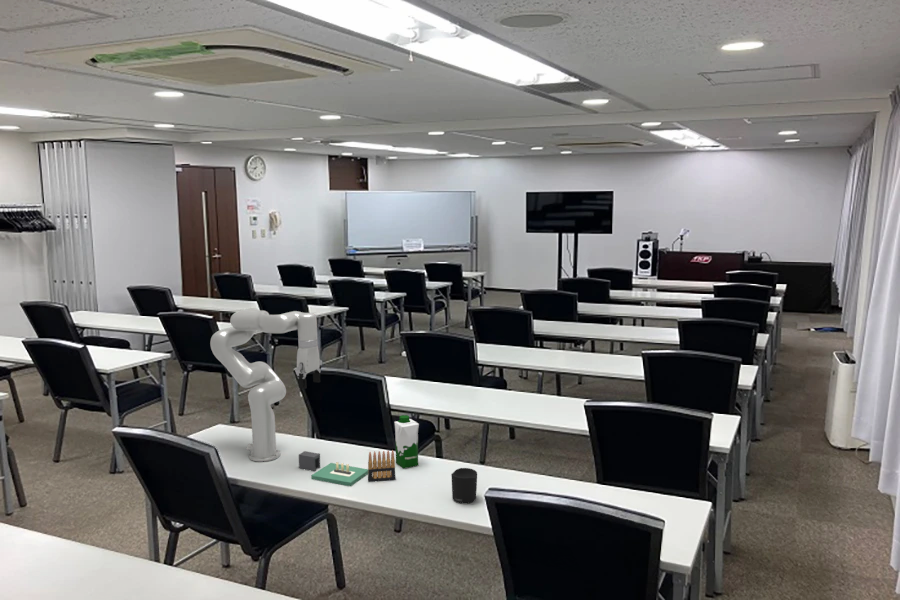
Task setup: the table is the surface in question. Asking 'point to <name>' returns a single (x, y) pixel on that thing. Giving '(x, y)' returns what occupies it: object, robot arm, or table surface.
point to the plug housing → (309, 460)
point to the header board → (340, 474)
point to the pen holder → (464, 485)
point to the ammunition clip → (381, 467)
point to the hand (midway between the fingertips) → (309, 385)
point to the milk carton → (406, 442)
